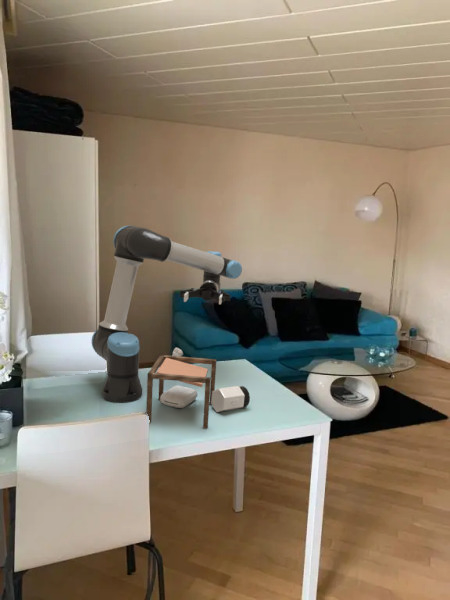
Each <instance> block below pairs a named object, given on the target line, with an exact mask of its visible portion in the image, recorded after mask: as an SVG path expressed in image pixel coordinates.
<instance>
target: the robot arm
mask: <svg viewBox="0 0 450 600" xmlns="http://www.w3.org/2000/svg"><path fill="white" fill-rule="evenodd" d="M112 242H113V246H114V249H115V250H114V253H113V257H114V259H115V261H116V264H115V269H114V274H113V278H112V283H111V288H110V290H109V292H110V293H109V295H108V296H109V297H108V302H107V306H106V311H105V315H104V319H103V320H102V321H100V322H99V324H98V328H97V330H95V331H94V333H93V335H92V336H91V347H92V349H93V350H94V352H95V353H96V354H97V355H98V356H99V357H101V358H102V359H104V360H105V361H106V362H107V368H106V370H107V371H106V373H107V375H106V378H105V381H104V384H103V386H102V390H101V392H102V394H101V396H102V398H103V399H104V400H106V401H109V402H113V403H130V402H134V401H136V400H139V399H141V398H142V397H143V385H142V383H141V379H140V377H139V368H140V367H139V365H140V364H139V363H140V362H139V361H140V359H139V358H140V347H141V346H140V340H139V338H138V336H136V335H135V334H134V333H133V334H132V333H128V331H129V328H128V326H127V318H128V315H129V310H130V305H131V300H132V296H133V292H134V287H135V283H136V278H137V274H138V269H139V267H140V266H142V265H143V263H144V260H153V261H158V262H161V263H163V262H166V261H167V262H168V261H169V262H171V263H174V264H178V265H181V266H186V267H189V268H192V269H197V270H199V271H203V276H202V284H201V285H200V287H199V288H196V290H195V288H194V287H191V288H188V289H183V290H180V291H179V297H180V298H181V299H183V302H184V303H186V302H187V301H188V300H189V299H190V298H200V299H202V300H204V301H213V300H214V299H216V300H218V305H222V302H225V301H227V302H230V301H231V294H229V293H228V292H226V291H224V290H222V289H221V277H224V278H227V279H232V280H235V279H238V278H239V277H240V276H241V275H242V271H243V267H242V265H241V263H240V262H239V261H236V260H233V259H229V258H225V257H223V256H222V253H221V252H220V251H213V250H212V251H211V250H210V251H204V250H201V249H197V248H195V247H190V246H188V245H184V244H181V243H178V242H175V241H172V239H171V238H170V237H167V236H165V235H162V234H160V233H157V232H156V231H153V230H151V229H149V228H146V227H139V226H136V225H125V226H122V227H120V228H119V229H118V230H117V231H116V232H115V233H114V235H113V241H112ZM220 289H221V290H220Z"/></svg>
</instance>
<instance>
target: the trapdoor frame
mask: <svg viewBox="0 0 450 600" xmlns="http://www.w3.org/2000/svg"><path fill="white" fill-rule="evenodd" d="M166 358H170V359H173V360H177V361H181V362H184V363H188V364H192V363H193V364H204V365H205V364H206V365H211V372H210V377H209V376H208V377H207V376H206V377H197V376H186V375H174V374H162V373H157V371H158V369H159V368H160V366H161V365H162V363H163V362H164V360H165V359H166ZM216 371H217V359H212V358H203V357H188V356H181V357H179V356H172V355H167V354H166V355H165V354H161V355H159V356H158V358H157V360H156V361H155V362H154V364H153V365H152V367H151V368H150V370H148V373H147V374H146V375H147V376H146V377H147V380H146V382H147V383H146V409H145V410H146V413H147V414H148V416H149V420H150V423H149V424H151V423H152V416H153V415H152V414H153V413H152V411H153V383H154V382H153V381H154V380H158V399H157V400H158V401H160V397H161V395H162V394H163V393H164V389H165V388H164V384H165V381H164V380H167V381H178V382H181V381H187V382H198V383H203V384H204V398H203V399H204V401H203V403H204V404H203V421H202V428H203V429H208V427H209V414H210V412H209V411H210V406H213V405H212V404H211V399H212V391H214V390H216V389H215V388H216V375H217V373H216ZM146 413H145V414H146Z"/></svg>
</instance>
